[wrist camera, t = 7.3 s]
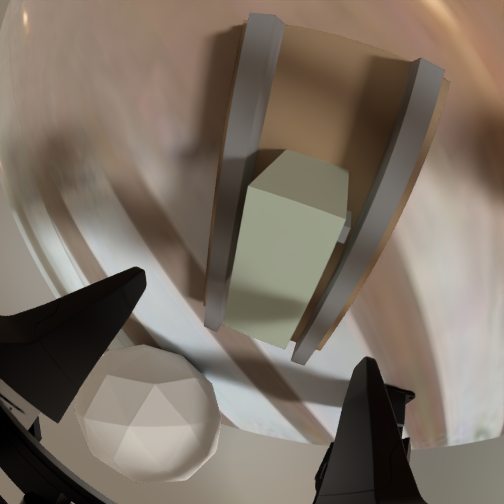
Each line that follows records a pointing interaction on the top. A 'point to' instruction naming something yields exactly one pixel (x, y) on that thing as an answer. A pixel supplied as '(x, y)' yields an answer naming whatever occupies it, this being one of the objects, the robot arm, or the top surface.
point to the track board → (322, 150)
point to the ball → (149, 414)
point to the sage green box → (285, 244)
